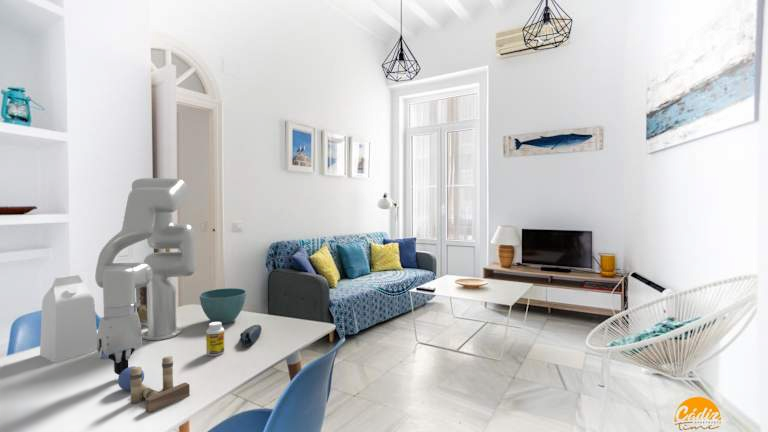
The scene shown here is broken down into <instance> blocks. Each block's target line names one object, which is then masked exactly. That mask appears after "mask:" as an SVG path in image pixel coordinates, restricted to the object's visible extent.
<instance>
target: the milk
mask: <svg viewBox="0 0 768 432" xmlns="http://www.w3.org/2000/svg"><path fill="white" fill-rule="evenodd" d="M41 301H42V302H41V317H40V318H41V322H40V323H41V324H40V342H39V343H40V345H39V356H41V357H43V358H45V359H46V360H49V361H51V362H53V363H58V362H63V361H65V360H69V359H73V358H76V357H79V356H83V355H86V354H89V353H92V352H96V351H97V352H98V350H97V335H98V328H97V320H96V318H97V317H96V305H95V298H94V295H93V293H92V291H91V290H90V289H89V288H88V287H87V285H86V283H85V282H84V281H83V279H82V278H81V276H80V274H71V275H64V276H63V275H62V276H57V277H55V279H54V281H53V282H52V285H51V287H50V288H49V289H48V291H46V293H45V295H44V296H43V298H42V300H41Z"/></svg>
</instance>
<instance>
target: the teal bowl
mask: <svg viewBox="0 0 768 432" xmlns="http://www.w3.org/2000/svg"><path fill="white" fill-rule="evenodd" d="M246 296H247V290H245V289H243V288H234V287H232V288H231V287H229V288H227V287H226V288H218V289H217V288H216V289H211V290H206V291H203V292H201V293H199V302H200V305H201V308H202V311H203V312H204V314H205V316H206V318H208V319H209V321H210V322H211V323H212V322H221V323H222V325H226V324H227V325H228V324H230V323H232V322H234V321H235V320H236V319H237V318H238V316H239V315H240V314H241V312H242V310H243V309H244V305H245V301H246Z"/></svg>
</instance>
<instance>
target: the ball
mask: <svg viewBox="0 0 768 432" xmlns="http://www.w3.org/2000/svg"><path fill="white" fill-rule="evenodd" d="M134 367H135V366H128V368H126V369H125V370H123V371H122V372H121V373H120V375H118V377H117V378H118V379H117V385H118V386H119V388H121V389H122V390H123V391H131V381H130V369H132V368H134ZM141 371H142V383H143V381H144V379H145V373H144V372H145V371H143V369H142V368H141Z"/></svg>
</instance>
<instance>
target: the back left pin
mask: <svg viewBox="0 0 768 432" xmlns="http://www.w3.org/2000/svg"><path fill="white" fill-rule="evenodd" d="M161 360H162V362H161V368H162V391H165V390H168V389H170V388H173V387H174V370H173V369H174V368H173V367H174V361H173V356H165V357H162V359H161Z"/></svg>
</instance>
